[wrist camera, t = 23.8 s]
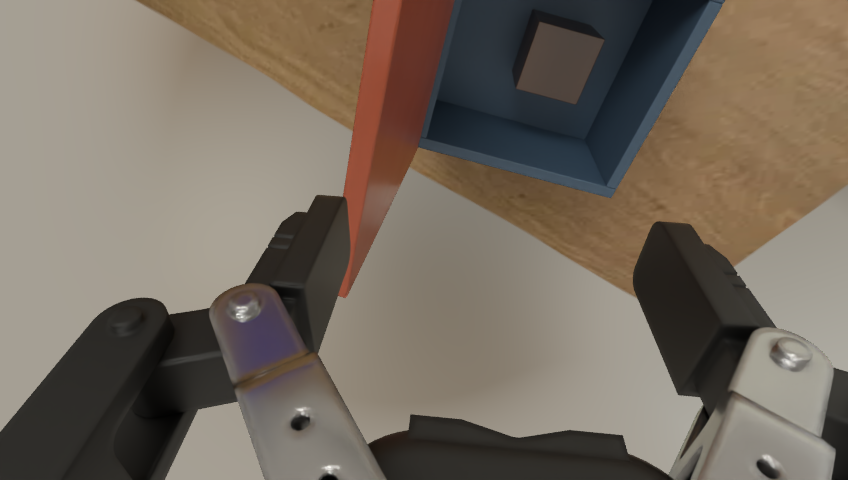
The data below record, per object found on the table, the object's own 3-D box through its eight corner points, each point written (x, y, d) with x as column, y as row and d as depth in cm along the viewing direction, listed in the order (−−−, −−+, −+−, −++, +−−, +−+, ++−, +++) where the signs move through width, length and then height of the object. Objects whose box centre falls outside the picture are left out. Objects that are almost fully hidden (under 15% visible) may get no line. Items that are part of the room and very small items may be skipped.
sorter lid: (421, -103, 11) (389, -113, 11) (346, 299, 19) (327, 293, 19) (477, -89, 23) (462, -94, 23) (417, 150, 31) (405, 146, 31)
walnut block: (511, 70, 35) (515, 89, 32) (532, 8, 33) (539, 21, 29) (566, 85, 36) (576, 105, 32) (591, 25, 33) (605, 39, 29)
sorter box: (675, -30, 31) (733, -12, 24) (587, 146, 39) (611, 198, 32) (471, -91, 30) (469, -91, 23) (424, 102, 38) (412, 145, 31)
